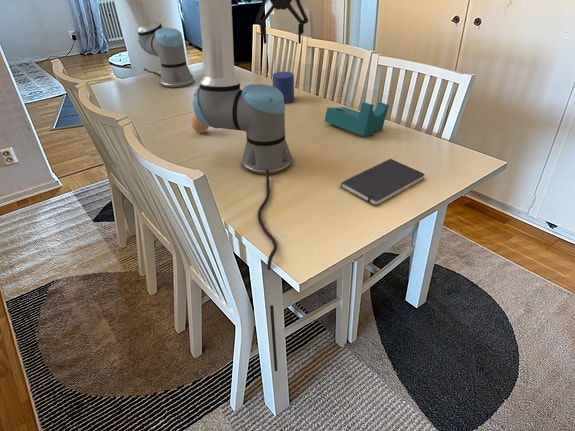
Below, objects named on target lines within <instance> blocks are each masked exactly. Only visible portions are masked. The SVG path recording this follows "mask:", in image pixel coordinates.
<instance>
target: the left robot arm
mask: <svg viewBox="0 0 575 431" xmlns="http://www.w3.org/2000/svg"><path fill="white" fill-rule="evenodd" d="M125 2H126V4H127V6H128V8H129V10H130V12H131V14H132V17H133V18H134V20H135V22H136V25H137V27H136V33H137V34H138V36H137V41H138V44H139V46H140V48H141V49H142V50H143V51H144V52H145V53H147V54H149V55H151V56H156V57H159V62H160V67H161V70H160V73H159V72H156V71H151V70H148V69H147V68H144V69H143V72H145V71H146V72H148V73H149V74H155V75H158V76H159V77H160V79H159V80H160V86H162V87H164V88H169V89H170V88H171V89H173V88H174V89H175V88H176V89H177V88H184V87H188V86H190V85H192V84H193V83H194V77H193V74H191V71H190V69H189V67H188V64H187V57H186V52H185V45H184V38H183V34H182V32H181V31H180V30H179V29H176V28H174V27H173V28H170V27H163V25H162V23H161V21H160V20H158V19H156V17H155V15H154V12H153V10H152V8H151V6H150V4H149V1H148V0H125Z"/></svg>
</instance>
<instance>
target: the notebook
mask: <svg viewBox="0 0 575 431" xmlns="http://www.w3.org/2000/svg"><path fill="white" fill-rule="evenodd" d="M424 176H425V173H424V172H422V171H420V170H417V169H415V168H413V167H410V166H408V165H406V164H404V163H401V162H399V161H397V160H395V159H393V158H389V159H387V160H385V161H382V162H380V163H379V164H377V165H375V166H372V167H370V168H368V169H366V170H364V171H362V172H360V173H358V174H356V175H353V176H351V177H350V178H348V179H345V180H344V181H341V182H340V183H341V184H340V187H341V188H342V189H344V190H345V191H347V192H349V193H350V194H353V195H355V196H356V197H358V198H360V199H362V200H363V201H365V202H367V203H369V204H371V205H373V206H379V205H381V204H382V203H384V202H386V201H388V200H390V199H391V198H393V197H395V196H397V195H398V194H400V193H402V192H404V191H406V190H407V189H409V188H411V187H413V186H415V185H416V184H418V183H420V182H422V181H423V180H424Z"/></svg>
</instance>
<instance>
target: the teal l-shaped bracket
mask: <svg viewBox="0 0 575 431" xmlns="http://www.w3.org/2000/svg"><path fill="white" fill-rule="evenodd" d="M360 106H361V107H360V110H359V111H358V110H355V109H352V108H349V107H344V106H343V107H341V106H340V107H337V106H336V107H326V111H325V116H324V122H325V123H328V124H330V125H333V126H336V127H339V128H341V129H344V130H346V131H349V132H351V133H354V134H357V135H359V136H362V137H366V136H373V134H374V132H378V131H379V132H380V131H383V128H384V125H385V121H386V118H387V113H388V109H389V106H390V104H387V103H384V102H381V101H380V102H377V105H376V107H375V108H374V104H372V103H369V102H364V101H363V102H362V103H361V105H360Z"/></svg>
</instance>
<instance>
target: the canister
mask: <svg viewBox="0 0 575 431" xmlns="http://www.w3.org/2000/svg"><path fill="white" fill-rule="evenodd" d="M271 76H272V86H273V87H275V88H277V89H279V90H280V91H281V92H282V94H283V97H284V105H285V104H291V103H293V102H294V101H295V74H294V73H293V72H291V71H278V72H277V71H276V72H274V73H272V75H271Z"/></svg>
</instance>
